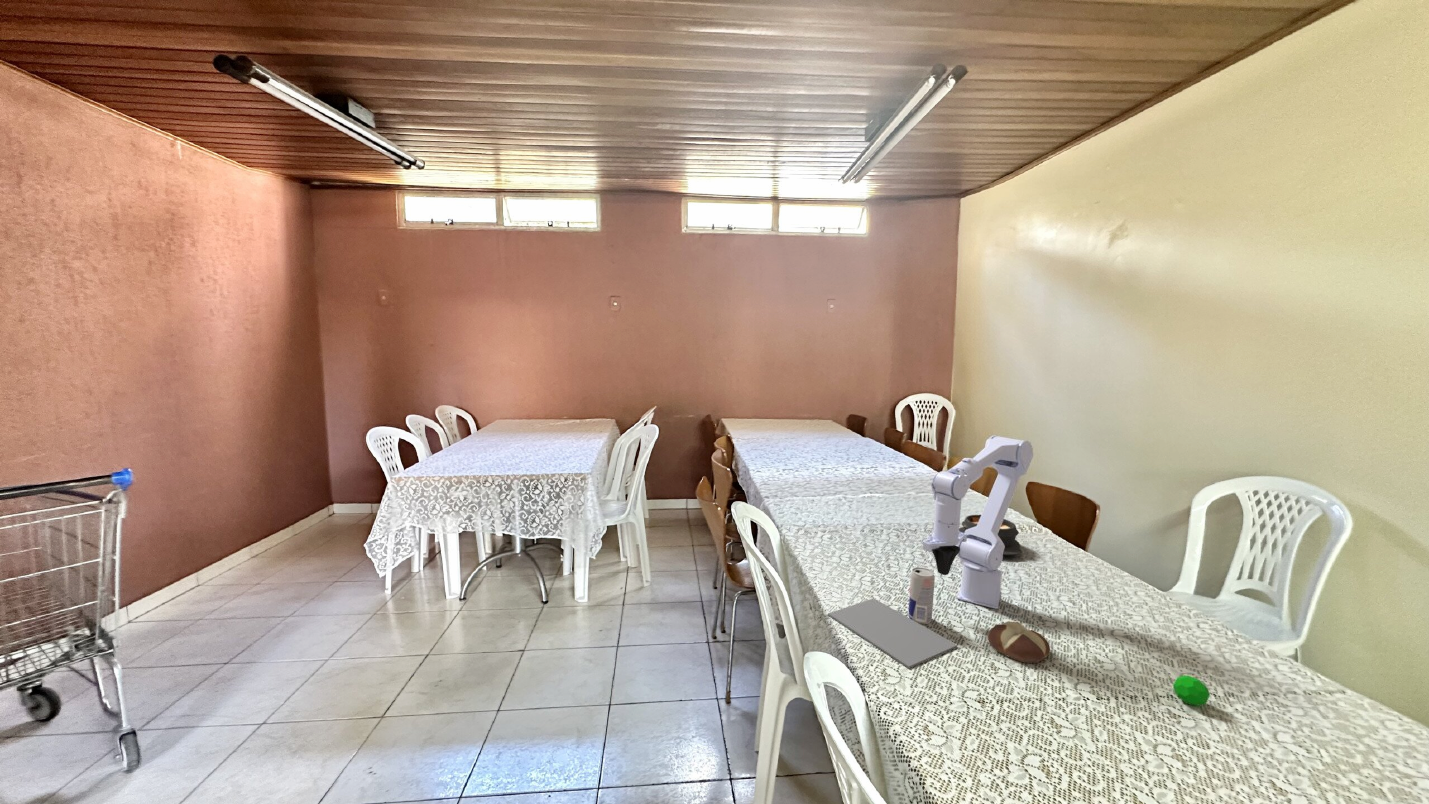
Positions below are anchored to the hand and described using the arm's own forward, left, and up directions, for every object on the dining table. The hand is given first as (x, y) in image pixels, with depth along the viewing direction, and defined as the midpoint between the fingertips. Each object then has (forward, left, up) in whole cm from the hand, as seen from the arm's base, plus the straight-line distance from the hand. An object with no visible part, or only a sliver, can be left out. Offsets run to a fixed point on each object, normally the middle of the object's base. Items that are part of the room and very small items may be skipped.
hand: (943, 573), depth 129 cm
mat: (+8, +17, -10) cm, 21 cm away
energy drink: (+3, +7, -10) cm, 13 cm away
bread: (-18, +8, -10) cm, 22 cm away
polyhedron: (-46, +9, -10) cm, 47 cm away
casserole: (-6, -57, -10) cm, 58 cm away
